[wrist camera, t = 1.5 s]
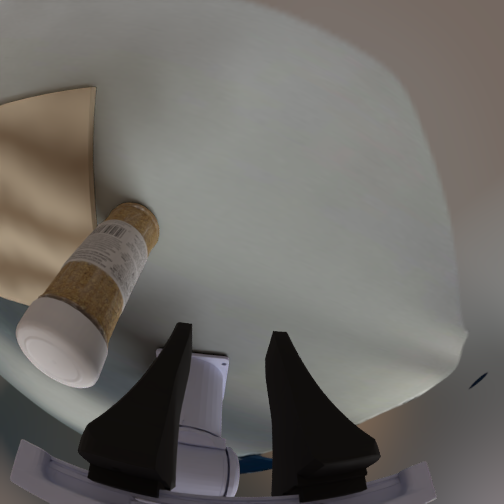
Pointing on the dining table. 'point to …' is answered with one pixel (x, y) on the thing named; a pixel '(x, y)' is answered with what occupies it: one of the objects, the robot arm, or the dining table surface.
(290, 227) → the dining table surface
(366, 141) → the dining table surface
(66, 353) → the sprinkles bottle
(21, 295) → the birch board
